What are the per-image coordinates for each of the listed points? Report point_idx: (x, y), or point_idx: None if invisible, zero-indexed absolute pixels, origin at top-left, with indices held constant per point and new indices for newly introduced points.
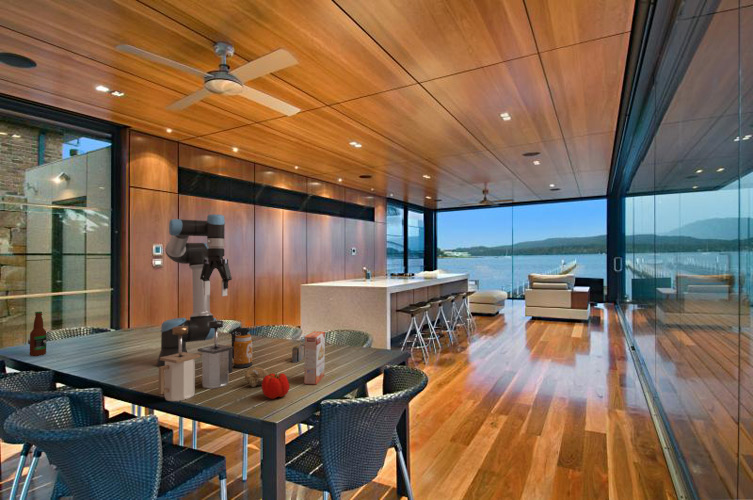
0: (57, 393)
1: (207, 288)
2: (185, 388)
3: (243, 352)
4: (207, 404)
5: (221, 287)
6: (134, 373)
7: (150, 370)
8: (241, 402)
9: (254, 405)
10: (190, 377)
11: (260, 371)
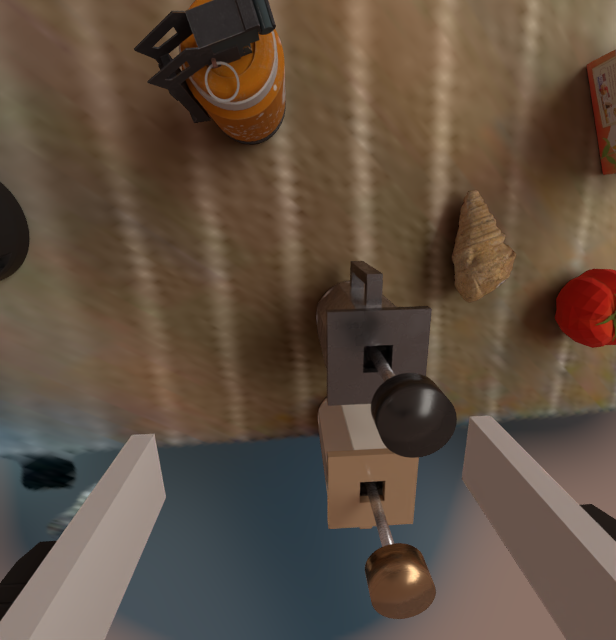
0: None
1: (118, 546)
2: None
3: (275, 113)
4: None
5: (532, 585)
6: (14, 369)
7: (14, 325)
8: (517, 369)
9: (558, 366)
10: None
11: (512, 267)
